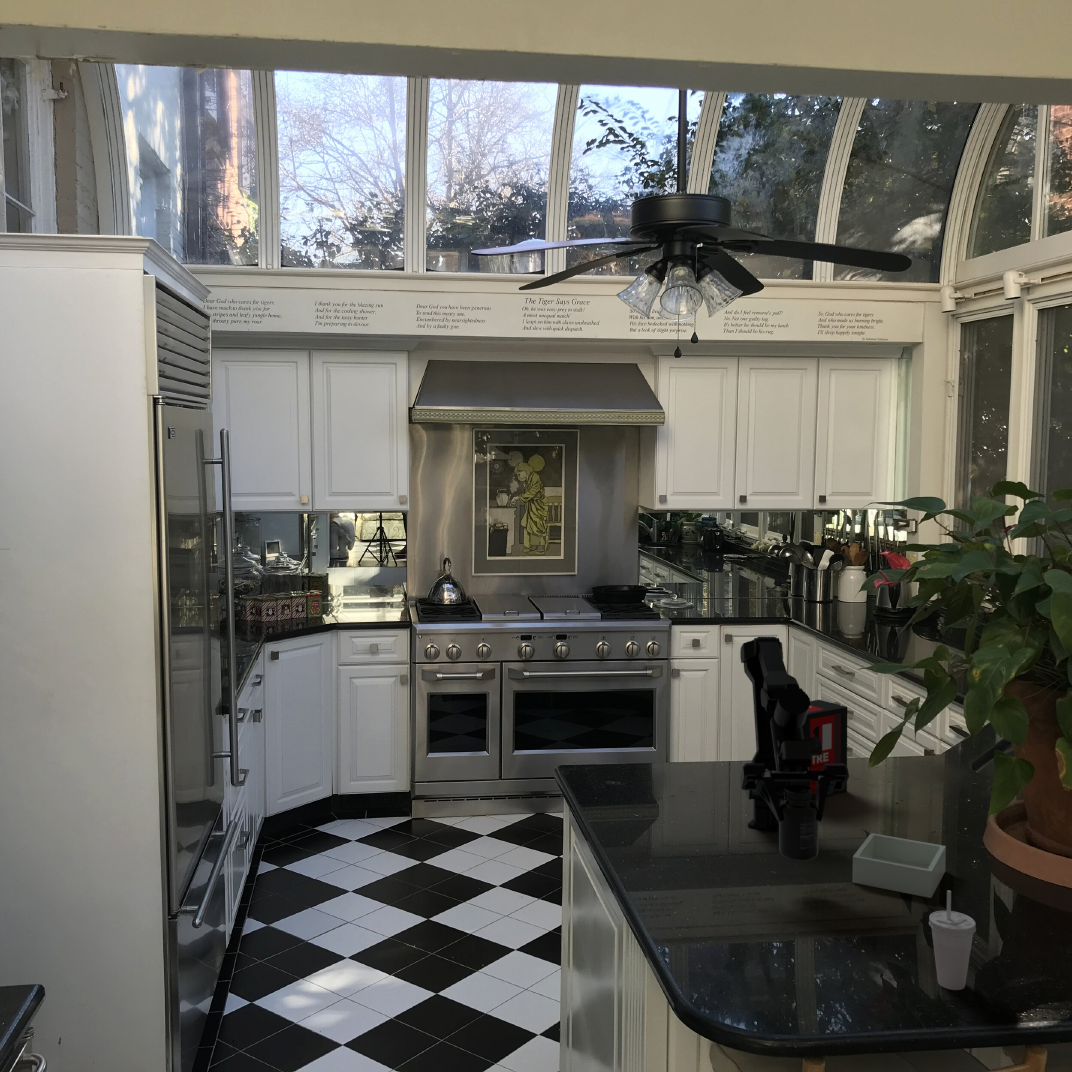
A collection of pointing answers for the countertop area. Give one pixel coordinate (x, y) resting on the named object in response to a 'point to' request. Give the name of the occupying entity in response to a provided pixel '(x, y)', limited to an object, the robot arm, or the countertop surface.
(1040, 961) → the countertop surface
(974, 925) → the smoothie
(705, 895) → the countertop surface
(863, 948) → the countertop surface
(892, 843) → the box
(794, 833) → the supplement bottle
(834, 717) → the cleaning product box
